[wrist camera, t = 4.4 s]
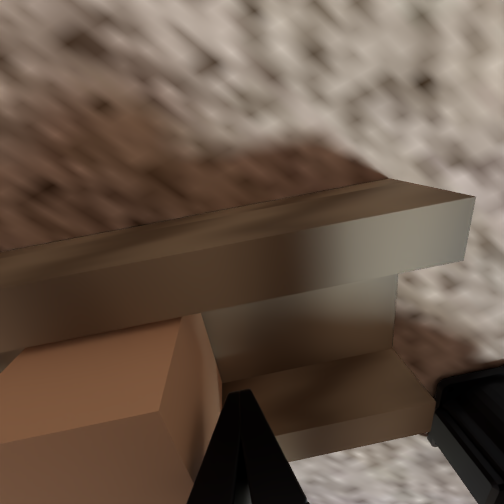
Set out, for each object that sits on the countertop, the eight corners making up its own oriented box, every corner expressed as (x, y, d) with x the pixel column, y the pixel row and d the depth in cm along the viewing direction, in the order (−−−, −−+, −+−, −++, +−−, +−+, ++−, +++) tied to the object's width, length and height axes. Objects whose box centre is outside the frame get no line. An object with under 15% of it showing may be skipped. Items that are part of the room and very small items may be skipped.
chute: (389, 178, 11) (513, 204, 6) (380, 360, 15) (448, 456, 10) (-168, 284, 10) (-490, 399, 6) (-12, 442, 14) (-123, 581, 10)
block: (190, 280, 10) (158, 410, 5) (222, 382, 13) (220, 538, 8) (67, 304, 10) (-86, 461, 5) (123, 402, 13) (55, 575, 8)
